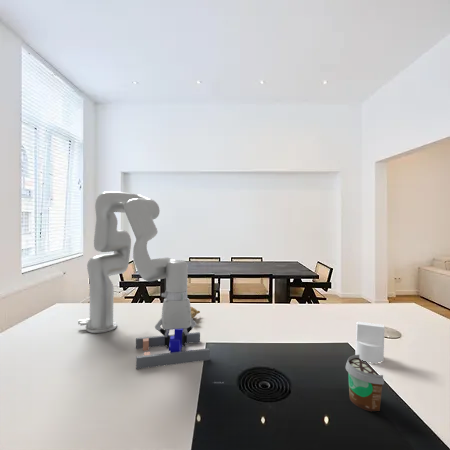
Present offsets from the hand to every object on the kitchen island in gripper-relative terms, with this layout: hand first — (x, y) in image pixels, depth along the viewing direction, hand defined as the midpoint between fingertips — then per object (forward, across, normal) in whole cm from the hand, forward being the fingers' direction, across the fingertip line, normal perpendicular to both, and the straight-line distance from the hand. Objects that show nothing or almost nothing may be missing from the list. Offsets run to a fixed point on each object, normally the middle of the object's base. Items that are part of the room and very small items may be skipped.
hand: (175, 345), depth 107 cm
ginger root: (+3, +8, +33) cm, 34 cm away
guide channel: (+3, -2, 0) cm, 3 cm away
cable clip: (+2, 0, 0) cm, 2 cm away
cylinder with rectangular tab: (+3, +65, -22) cm, 69 cm away
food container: (+3, +43, -42) cm, 60 cm away
